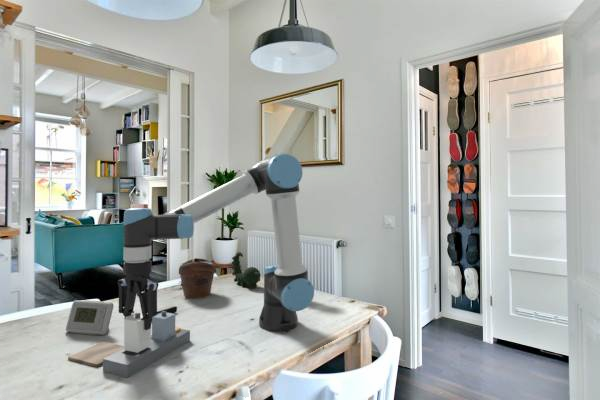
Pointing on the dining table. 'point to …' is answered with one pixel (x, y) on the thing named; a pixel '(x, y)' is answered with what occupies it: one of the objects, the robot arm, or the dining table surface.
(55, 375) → the dining table surface
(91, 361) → the walnut mat
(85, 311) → the digital clock
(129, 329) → the block
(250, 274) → the toy figurine
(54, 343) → the dining table surface
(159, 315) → the block
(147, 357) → the grey long flat block
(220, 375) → the dining table surface
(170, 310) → the electric trimmer
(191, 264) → the brown flower pot
